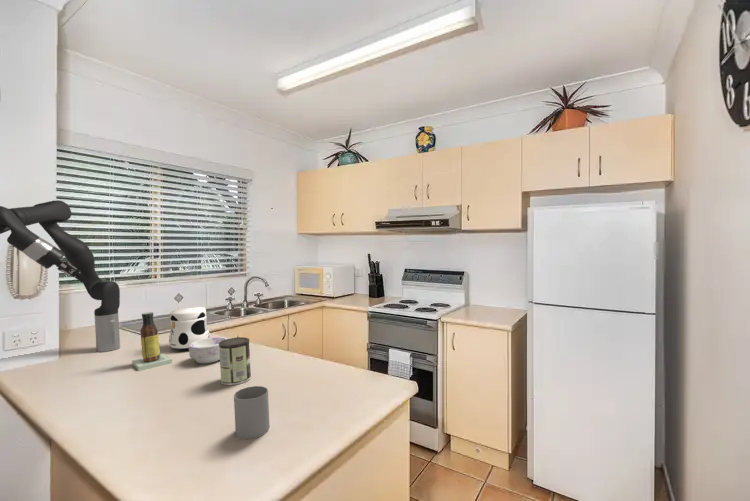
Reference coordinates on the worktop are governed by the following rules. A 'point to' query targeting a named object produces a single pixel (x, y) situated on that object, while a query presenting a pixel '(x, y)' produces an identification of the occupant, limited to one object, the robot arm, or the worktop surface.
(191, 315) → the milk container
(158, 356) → the sauce bottle
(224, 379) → the coffee can
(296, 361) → the worktop surface
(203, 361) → the paper bowls
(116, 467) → the worktop surface
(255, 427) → the cup
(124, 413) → the worktop surface
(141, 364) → the trivet
